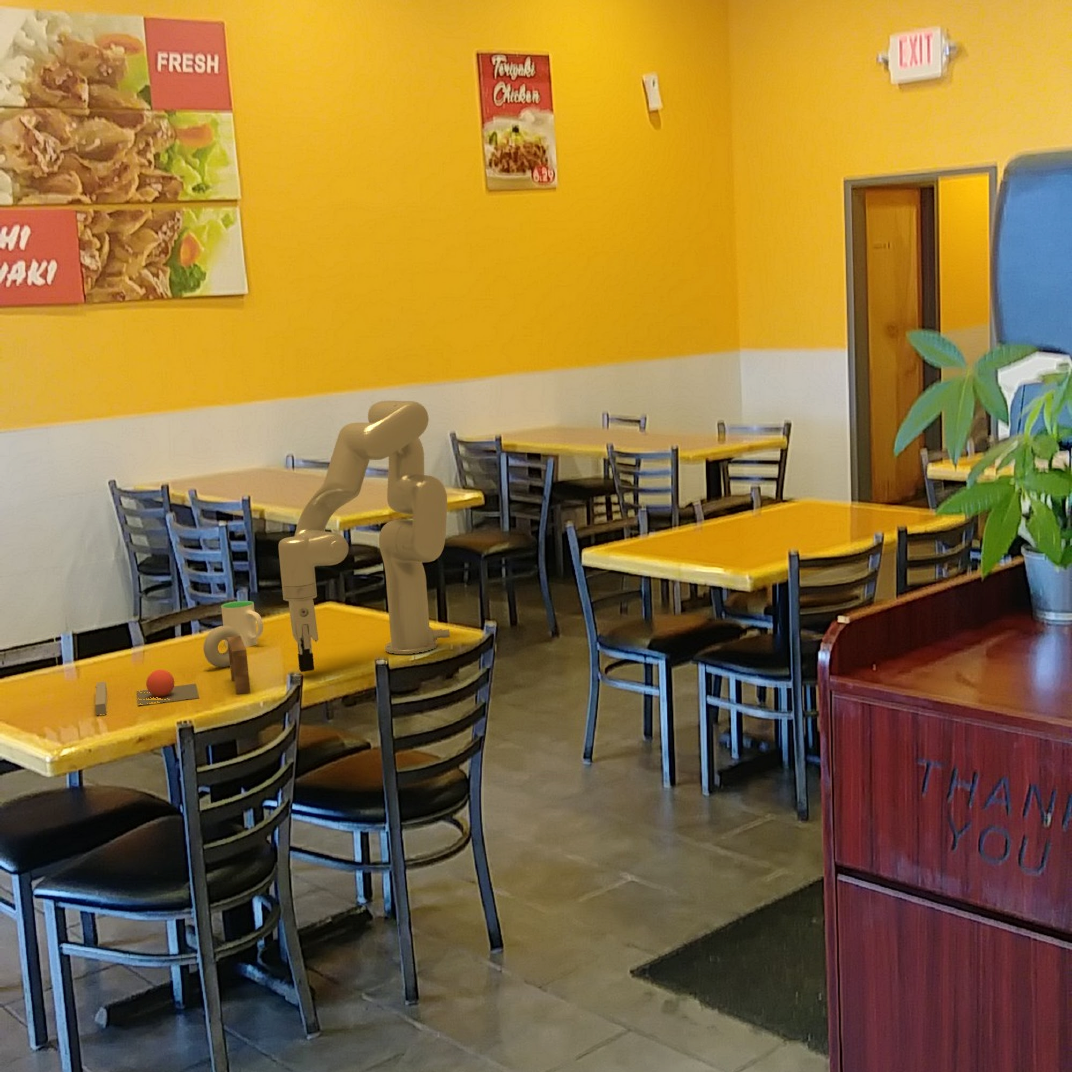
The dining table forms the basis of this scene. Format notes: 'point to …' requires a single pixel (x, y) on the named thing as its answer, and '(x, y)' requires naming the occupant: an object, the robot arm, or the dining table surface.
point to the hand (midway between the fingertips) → (306, 670)
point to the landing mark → (170, 694)
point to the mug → (243, 621)
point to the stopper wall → (101, 698)
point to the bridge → (238, 664)
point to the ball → (160, 683)
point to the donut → (213, 642)
